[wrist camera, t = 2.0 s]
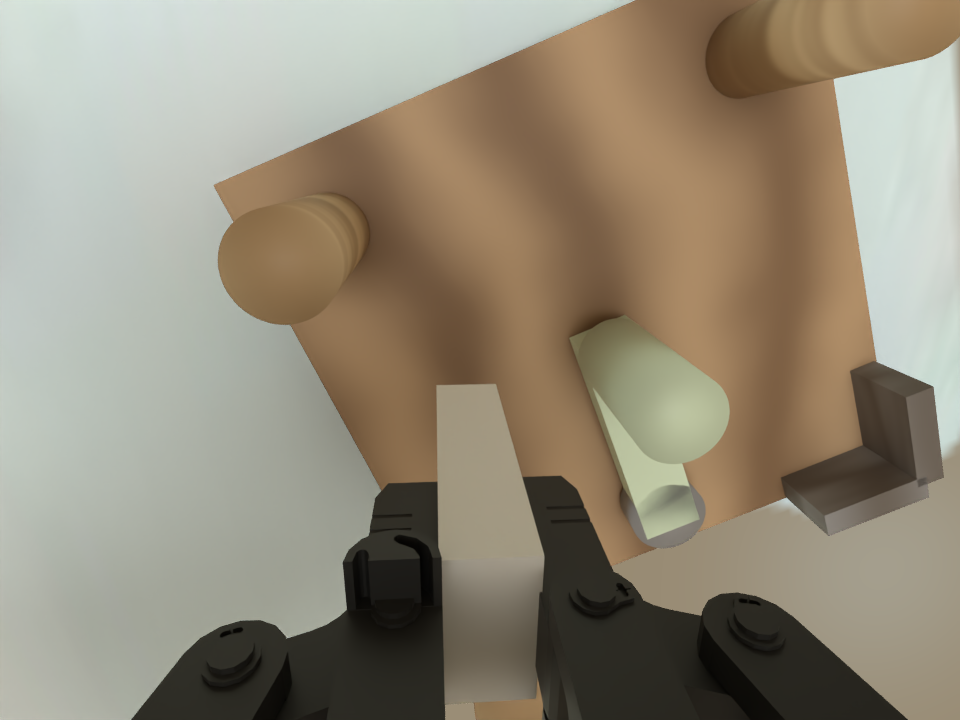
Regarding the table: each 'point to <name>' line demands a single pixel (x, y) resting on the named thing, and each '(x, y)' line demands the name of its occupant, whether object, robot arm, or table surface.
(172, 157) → the table surface
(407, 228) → the stool seat
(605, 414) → the hinged leg
